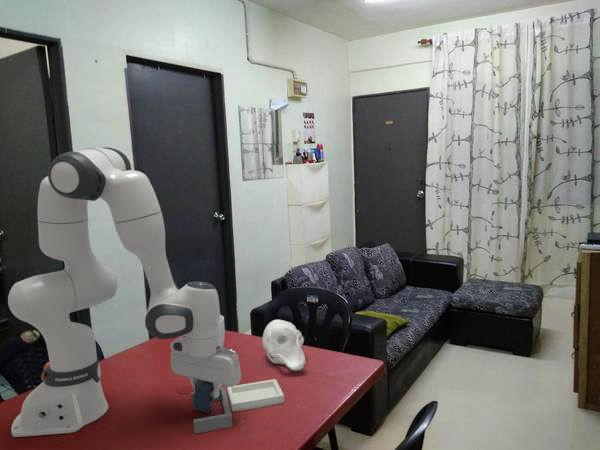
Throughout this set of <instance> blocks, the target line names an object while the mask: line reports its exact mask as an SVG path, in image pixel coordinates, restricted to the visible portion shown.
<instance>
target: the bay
mask: <svg viewBox="0 0 600 450" xmlns="http://www.w3.org/2000/svg"><path fill="white" fill-rule="evenodd" d="M190 398H191V405H192V406H193V401H194V391H191V392H190ZM217 401H221V403H222V408H223V412H224V413H223V414H217V415H213V416H212V415H211V416H205V417H201V418H193V431H194V435H197V434H200V433H206V432H211V431H217V430H221V429H227V428H232V427H233V415H232V409H231V405H230V401H229V397H228V393H227V390H226V386H221V388H220V389H219V396H218V397H217V398H213V400H212V402H217Z"/></svg>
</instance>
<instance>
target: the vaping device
mask: <svg viewBox="0 0 600 450" xmlns="http://www.w3.org/2000/svg"><path fill="white" fill-rule="evenodd" d="M214 388H215V386H213V383H212V382H208V381H204V380H199V379H197V382H196V384H195V391H194V390H193V392H194V401H193V405H192V406H193V409H194V410H197V411H200V412H203V413H210V412H211V411H212V409H213V401H212V400H213V397H211V391H212V390H213V389H214Z"/></svg>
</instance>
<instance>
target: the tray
mask: <svg viewBox="0 0 600 450" xmlns="http://www.w3.org/2000/svg"><path fill="white" fill-rule="evenodd" d="M226 387H227V390H226V391H227V398H228V402H229V406H230V410H231V413H236V412H242V411H247V410H253V409H258V408H264V407H270V406H275V405H281V404H285V395H284V392H283V390H282V389H281V386H280V385H279V383H278V381H277V379H276V378H274V379H268V380H262V381H256V382H249V383H243V384H238V385H237V384H236V385H235V386H233V387H229V386H226Z"/></svg>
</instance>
